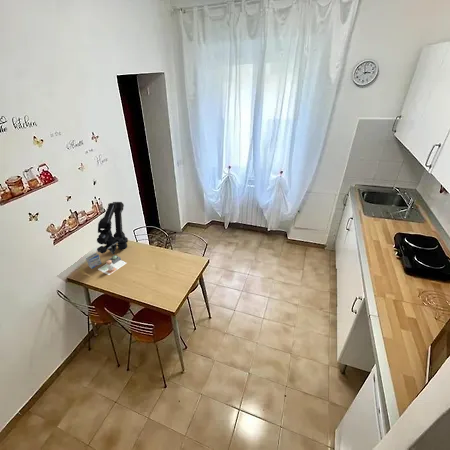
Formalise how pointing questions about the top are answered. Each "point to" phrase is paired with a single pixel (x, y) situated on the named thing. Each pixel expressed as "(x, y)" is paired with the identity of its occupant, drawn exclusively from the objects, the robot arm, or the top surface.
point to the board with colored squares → (116, 264)
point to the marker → (110, 265)
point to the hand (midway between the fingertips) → (113, 253)
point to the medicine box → (93, 260)
